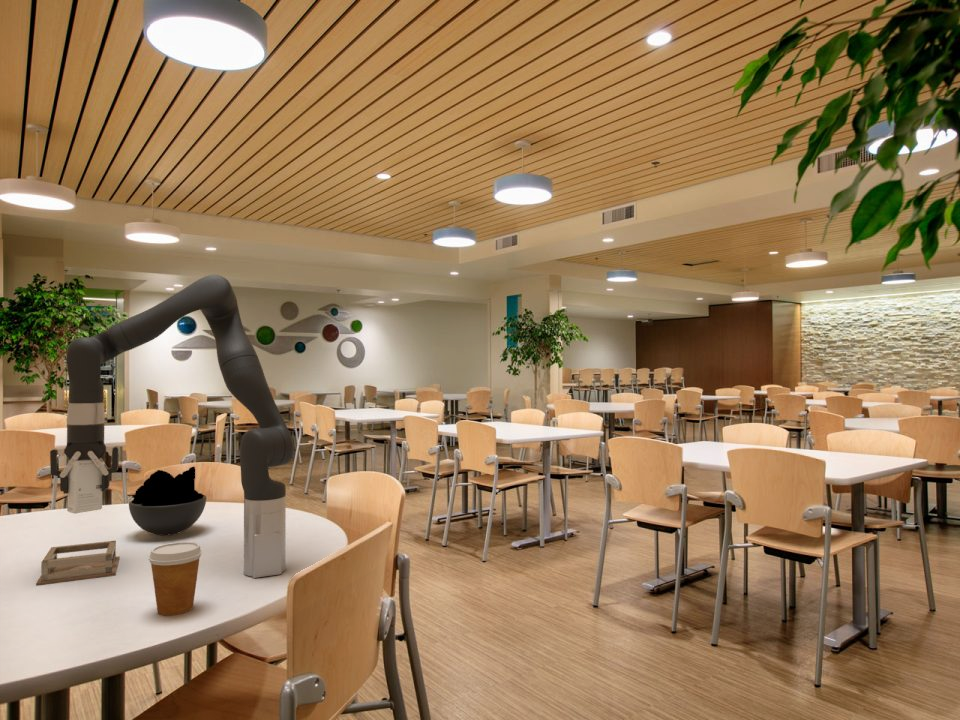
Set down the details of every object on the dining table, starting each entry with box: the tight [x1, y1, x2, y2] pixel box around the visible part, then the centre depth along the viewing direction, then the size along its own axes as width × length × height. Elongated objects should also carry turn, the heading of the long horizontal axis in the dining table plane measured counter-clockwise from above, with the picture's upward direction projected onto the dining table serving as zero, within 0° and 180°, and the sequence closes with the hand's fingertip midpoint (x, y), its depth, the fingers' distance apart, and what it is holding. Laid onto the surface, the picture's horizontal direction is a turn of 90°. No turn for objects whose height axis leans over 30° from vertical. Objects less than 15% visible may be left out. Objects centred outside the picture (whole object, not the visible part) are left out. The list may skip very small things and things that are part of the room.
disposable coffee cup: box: [147, 541, 203, 616], centre depth 124 cm, size 10×10×12 cm
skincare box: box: [66, 457, 104, 514], centre depth 149 cm, size 6×4×12 cm
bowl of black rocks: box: [128, 466, 207, 536], centre depth 181 cm, size 20×20×19 cm
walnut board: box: [35, 555, 121, 586], centre depth 148 cm, size 15×15×1 cm
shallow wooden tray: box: [40, 540, 117, 581], centre depth 148 cm, size 13×13×4 cm
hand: (85, 491), depth 149 cm, fingers closed on skincare box, 7 cm apart
